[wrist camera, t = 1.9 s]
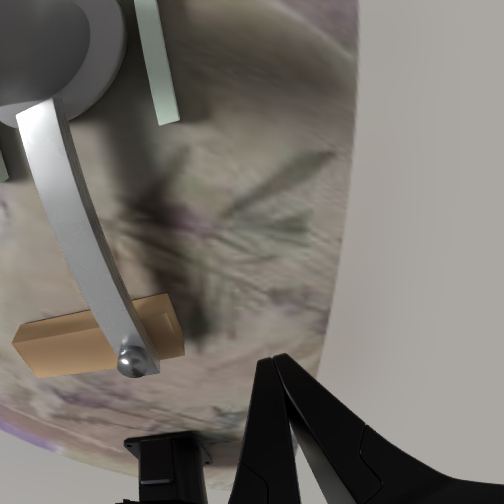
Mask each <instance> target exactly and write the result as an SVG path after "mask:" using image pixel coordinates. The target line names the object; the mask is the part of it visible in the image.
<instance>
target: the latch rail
mask: <svg viewBox="0 0 504 504" xmlns="http://www.w3.org/2000/svg"><path fill="white" fill-rule="evenodd" d="M132 303H133V305H134V307H135V309H136V311H137V313H138V315H139V318H140V320H141V322H142V324H143V326H144V328H145V330H146V332H147V334H148V336H149V338H150V340H151V342H152V344H153V346H154V348H155V350H156V352H157V354H158V356H159V357H160V360H163V359H169V358H174V357H179V356H184V355H185V351H184V333H183V331H182V328H181V326H180V324H179V321H178V319H177V316H176V314H175V311H174V309H173V306H172V304H171V301H170V298H169V296H168V293H164V294H160V295H155V296H151V297H146V298H142V299H138V300H133V301H132ZM12 345H13V346H14V348H15V349H16V350H17V352H18V353H19V354H20V356H21V357H22V359H23V360H24V361H25V363H26V364H27V365H28V366H29V368H30V369H31V370H32V372H33V373H34V374H35V375H36V377H37V378H42V377H52V376H60V375H69V374H77V373H84V372H91V371H98V370H105V369H112V368H117V363H118V357H117V355H116V354H115V352H114V350H113V349H112V347H111V345H110V344H109V342H108V340H107V338H106V337H105V335H104V333H103V332H102V330H101V328H100V326H99V324H98V323H97V321H96V319H95V317H94V315H93V314H92V312H91V310H88V311H84V312H79V313H75V314H70V315H65V316H61V317H56V318H51V319H47V320H42V321H37V322H32V323H27V324H23V325H20V327H19V329H18V331H17V333H16V335H15V337H14V339H13V341H12Z"/></svg>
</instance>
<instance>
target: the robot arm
mask: <svg viewBox="0 0 504 504" xmlns="http://www.w3.org/2000/svg"><path fill="white" fill-rule="evenodd" d="M289 422H290V424H289ZM290 425H291V427H292V429H293V432H294V434H295V436H296V438H297V440H298V442H299V445H300V447H301V449H302V451H303V453H304V455H305V457H306V459H307V462H308V463H309V466H310V468H311V470H312V472H313V474H314V476H315V478H316V480H317V482H318V484H319V487H320V489H321V491H322V493H323V495H324V497H325V499H326V501H327V503H328V504H504V485H503V484H492V483H483V482H475V481H468V480H461V479H456V478H452V477H449V476H447V475H445V474H442V473H440V472H438V471H436V470H435V469H432V468H431V467H429V466H427V465H426V464H424V463H422V462H421V461H419V460H417V459H416V458H414V457H412V456H410V455H409V454H407V453H405V452H404V451H402V450H401V449H399V448H398V447H396V446H394V445H393V444H391V443H390V442H389V441H387V440H386V439H385V438H383V437H382V436H381V435H380V434H378V433H377V432H376V431H374V430H373V429H372V428H371V427H370V426H369V425H365V422H364V421H363V420H361V419H360V418H359V417H358V416H357V415H356V414H354V413H353V412H352V411H351V410H350V409H349V408H347V407H346V406H345V405H344V404H343V403H341V402H340V401H339V400H338V399H337V398H336V397H335V396H333V395H332V394H331V393H330V392H329V391H328V390H327V389H326V388H324V387H323V386H322V385H321V384H320V383H319V382H318V381H317V380H316V379H314V378H313V377H312V376H311V375H310V374H309V373H308V372H307V371H306V370H304V369H303V368H302V367H301V366H300V365H299V364H298V363H297V362H296V361H295V360H293V359H292V358H291V357H290V356H289V355H288V354H286V353H283V354H279V355H276V356H273V358H271V357H268V358H264V359H260V360H258V362H257V367H256V372H255V378H254V383H253V389H252V394H251V400H250V405H249V411H248V416H247V421H246V427H245V432H244V437H243V442H242V447H241V453H240V458H239V461H240V462H239V463H238V467H237V472H236V476H235V481H234V485H233V489H232V493H231V495H230V498H229V501H228V504H302V503H301V496H300V490H299V483H298V476H297V470H296V463H295V456H294V449H293V443H292V436H291V430H290ZM124 447H125V448H126V449H128V450H129V451H130V452H131V453H132V454H133V455H134V456H135V457H136V458H137V459H138V460H139V502H137V501H130V500H128V499H123V503H115V504H208V501H207V494H206V487H205V480H204V472H203V466H204V465H210V464H212V463H213V462H212V458H211V457H210V455H209V454H208V452H207V451H206V450H205V448H204V447H203V445H202V444H201V443H200V441H199V440H198V438H197V437H196V435H195V434H194V433H192V432H186V433H179V434H172V435H165V436H157V437H148V438H138V439H127V440H124Z"/></svg>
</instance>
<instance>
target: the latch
mask: <svg viewBox="0 0 504 504" xmlns="http://www.w3.org/2000/svg"><path fill="white" fill-rule="evenodd" d="M16 118H17V122H18V126H19V130H20V134H21V137H22V141H23V145H24V148H25V152H26V155H27V158H28V162H29V165H30V168H31V171H32V174H33V178H34V181H35V184H36V186H37V189H38V192H39V195H40V198H41V201H42V203H43V206H44V209H45V211H46V214H47V217H48V219H49V222H50V224H51V227H52V229H53V232H54V234H55V236H56V239H57V241H58V243H59V246H60V248H61V250H62V253H63V255H64V257H65V259H66V262H67V264H68V266H69V268H70V270H71V272H72V274H73V276H74V279H75V281H76V283H77V285H78V287H79V289H80V291H81V293H82V295H83V297H84V298H85V300H86V302H87V304H88V306H89V308H90V310H91V312H92V314H93V315H94V317H95V319H96V321H97V323H98V324H99V326H100V328H101V330H102V332H103V333H104V335H105V337H106V338H107V340H108V342H109V344H110V345H111V347H112V349H113V350H114V352H115V354H116V355H117V357H118V363H117V368H118V370H119V372H120V373H121V374H123V375H125V376H127V377H130V378H139V377H142V376H146V375H151V374H157V373H160V357H159V356H158V354H157V352H156V350H155V348H154V346H153V344H152V342H151V340H150V338H149V336H148V334H147V332H146V330H145V328H144V326H143V324H142V322H141V320H140V318H139V315H138V313H137V311H136V309H135V307H134V305H133V303H132V300H131V298H130V296H129V294H128V292H127V289H126V287H125V285H124V282H123V280H122V278H121V275H120V273H119V271H118V268H117V266H116V264H115V261H114V259H113V256H112V254H111V251H110V249H109V246H108V244H107V241H106V239H105V236H104V233H103V231H102V228H101V225H100V223H99V220H98V217H97V214H96V212H95V209H94V206H93V203H92V200H91V197H90V194H89V191H88V188H87V185H86V182H85V179H84V176H83V172H82V169H81V166H80V163H79V159H78V156H77V152H76V149H75V145H74V142H73V138H72V134H71V131H70V127H69V123H68V119H67V115H66V111H65V107H64V102H63V98H62V97H57V98H51V99H49V100H46V101H44V102H42V103H40V104H38V105H36V106H34V107H32V108H29V109H27V110H25V111H23V112H21V113H19V114H18V115H16Z"/></svg>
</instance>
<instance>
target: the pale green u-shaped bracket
mask: <svg viewBox="0 0 504 504" xmlns="http://www.w3.org/2000/svg"><path fill="white" fill-rule="evenodd" d="M134 4H135V10H136V15H137V21H138V27H139V32H140V38H141V43H142V48H143V54H144V59H145V64H146V69H147V73H148V78H149V83H150V88H151V92H152V97H153V101H154V106H155V110H156V115H157V119H158V124H159V126H160V125H163V124H167V123H171V122H175V121H179V120H180V116H179V111H178V106H177V102H176V97H175V92H174V87H173V83H172V78H171V73H170V68H169V63H168V58H167V53H166V48H165V42H164V37H163V32H162V27H161V21H160V16H159V10H158V4H157V0H134ZM8 178H9V177H8V174H7V170H6V167H5V164H4V161H3V157H2V154H1V150H0V184H1V183H2V182H4V181H5V180H7V179H8Z"/></svg>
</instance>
